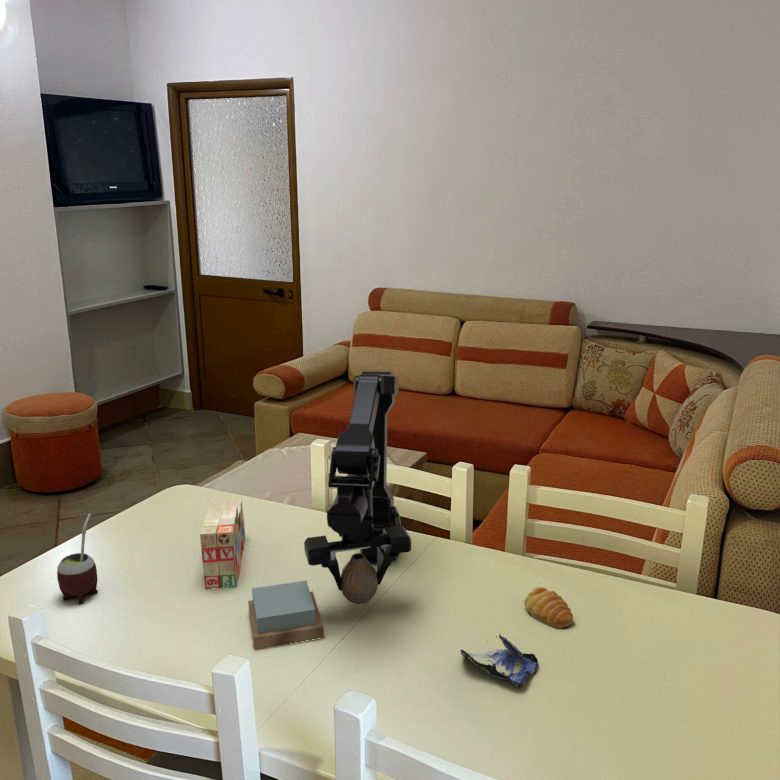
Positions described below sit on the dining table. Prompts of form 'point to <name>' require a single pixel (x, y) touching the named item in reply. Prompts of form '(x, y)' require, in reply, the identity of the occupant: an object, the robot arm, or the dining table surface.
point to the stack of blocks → (222, 544)
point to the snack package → (507, 663)
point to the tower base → (285, 631)
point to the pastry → (548, 608)
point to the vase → (359, 580)
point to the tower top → (283, 606)
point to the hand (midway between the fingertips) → (359, 586)
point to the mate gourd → (77, 573)
